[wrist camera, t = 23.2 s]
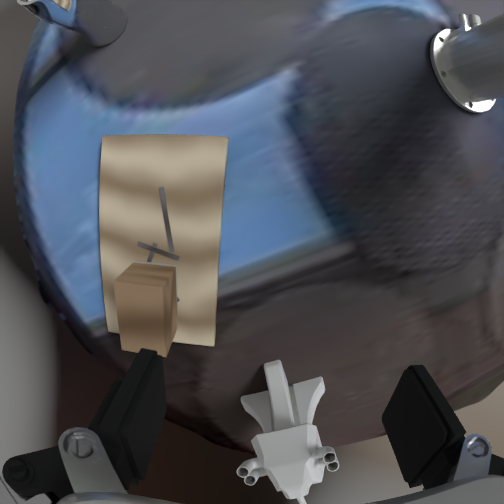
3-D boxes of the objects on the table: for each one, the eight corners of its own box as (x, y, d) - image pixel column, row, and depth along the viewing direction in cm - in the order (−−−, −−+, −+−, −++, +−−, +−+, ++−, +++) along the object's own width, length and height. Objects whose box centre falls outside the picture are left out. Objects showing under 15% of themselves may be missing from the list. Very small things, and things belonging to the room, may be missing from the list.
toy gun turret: (256, 430, 42) (259, 525, 24) (228, 371, 38) (219, 484, 21) (329, 412, 41) (356, 506, 24) (315, 349, 37) (351, 458, 20)
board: (108, 136, 30) (102, 135, 28) (228, 138, 30) (227, 136, 29) (112, 325, 36) (107, 331, 35) (215, 339, 37) (213, 346, 35)
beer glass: (77, 54, 26) (5, 16, 12) (90, 10, 24) (30, -38, 10) (125, 46, 26) (61, -7, 12) (136, 2, 25) (87, -61, 10)
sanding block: (135, 260, 32) (113, 281, 26) (177, 265, 32) (162, 287, 26) (138, 322, 34) (121, 349, 29) (177, 327, 34) (166, 357, 29)
